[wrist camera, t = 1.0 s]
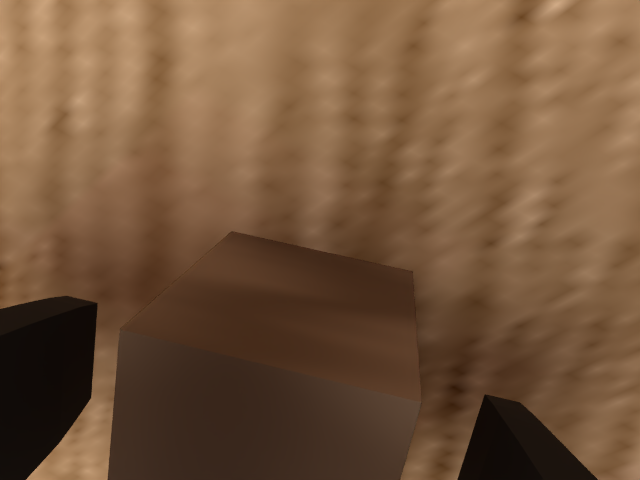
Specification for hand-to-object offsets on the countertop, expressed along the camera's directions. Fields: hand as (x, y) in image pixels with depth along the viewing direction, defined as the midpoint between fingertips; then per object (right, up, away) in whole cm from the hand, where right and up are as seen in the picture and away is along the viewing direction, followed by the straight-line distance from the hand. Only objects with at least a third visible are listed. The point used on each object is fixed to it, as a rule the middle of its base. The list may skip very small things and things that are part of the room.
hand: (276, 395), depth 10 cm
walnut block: (0, +1, +2) cm, 3 cm away
